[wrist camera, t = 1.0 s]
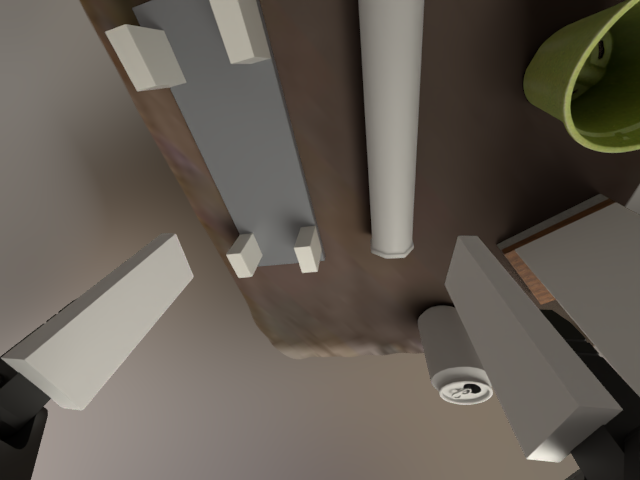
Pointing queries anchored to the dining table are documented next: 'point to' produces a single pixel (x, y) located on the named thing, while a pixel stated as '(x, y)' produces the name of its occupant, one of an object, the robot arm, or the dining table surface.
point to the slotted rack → (230, 119)
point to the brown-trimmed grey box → (589, 275)
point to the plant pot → (592, 79)
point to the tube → (391, 117)
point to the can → (452, 357)
